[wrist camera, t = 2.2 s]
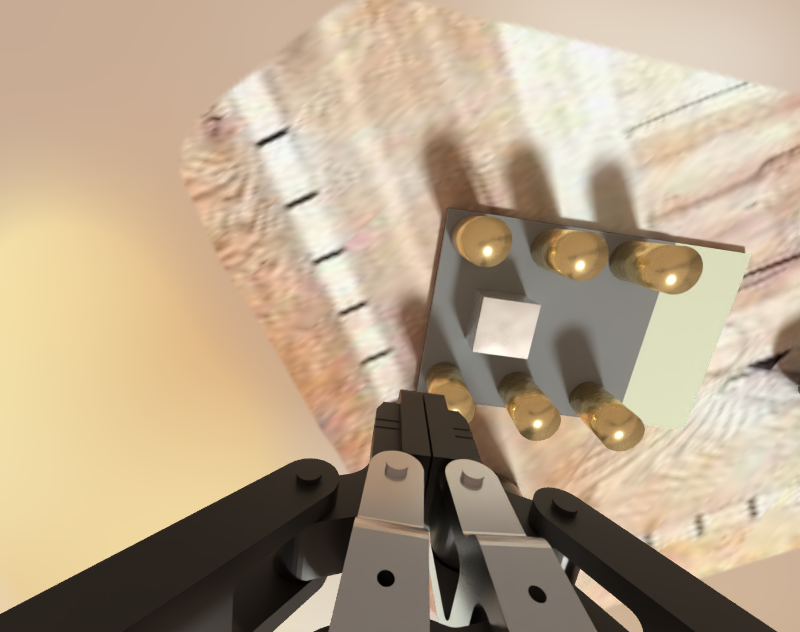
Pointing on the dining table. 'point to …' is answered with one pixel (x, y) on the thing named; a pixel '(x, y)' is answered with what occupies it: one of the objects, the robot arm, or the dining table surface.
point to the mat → (586, 326)
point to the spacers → (579, 261)
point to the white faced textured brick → (501, 323)
